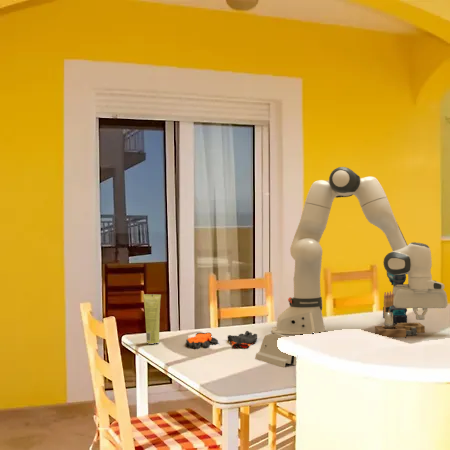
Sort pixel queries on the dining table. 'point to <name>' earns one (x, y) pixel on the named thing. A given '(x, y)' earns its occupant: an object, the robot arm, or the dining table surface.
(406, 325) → the square wooden frame
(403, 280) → the impact wrench
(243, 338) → the pair of gloves
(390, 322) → the light bulb
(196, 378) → the dining table surface
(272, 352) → the grey flared block
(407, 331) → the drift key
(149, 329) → the tube
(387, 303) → the ammunition clip
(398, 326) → the socket block
